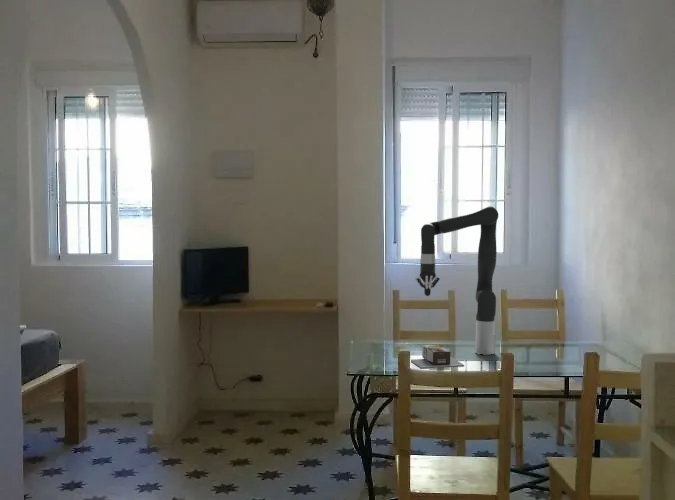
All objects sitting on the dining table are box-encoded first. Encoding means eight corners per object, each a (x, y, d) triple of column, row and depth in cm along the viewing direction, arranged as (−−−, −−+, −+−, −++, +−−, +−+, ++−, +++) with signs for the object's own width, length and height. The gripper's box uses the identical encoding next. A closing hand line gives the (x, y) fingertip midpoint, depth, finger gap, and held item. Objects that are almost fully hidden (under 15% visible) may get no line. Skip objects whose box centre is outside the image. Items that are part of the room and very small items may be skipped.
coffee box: (422, 357, 383) (432, 365, 367) (422, 344, 382) (432, 352, 367) (439, 357, 385) (450, 364, 369) (439, 344, 384) (450, 351, 368)
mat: (451, 358, 384) (451, 357, 384) (464, 366, 369) (464, 364, 369) (409, 360, 379) (409, 359, 379) (420, 368, 364) (420, 367, 363)
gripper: (418, 263, 392) (417, 297, 393) (442, 262, 395) (442, 296, 397) (413, 261, 399) (412, 295, 401) (437, 261, 402) (436, 294, 404)
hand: (427, 295), depth 399 cm, fingers closed
